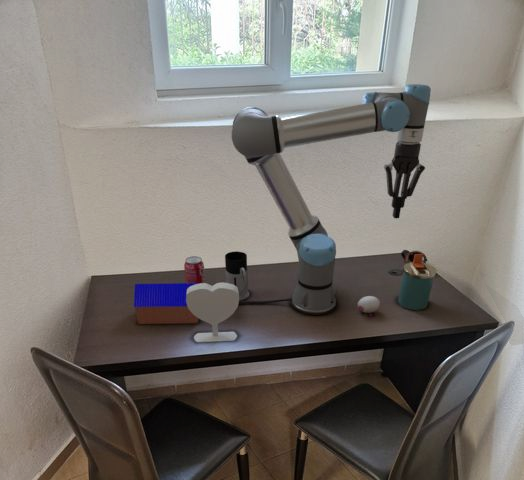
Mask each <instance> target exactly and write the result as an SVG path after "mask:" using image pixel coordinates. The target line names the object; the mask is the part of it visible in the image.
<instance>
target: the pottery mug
mask: <svg viewBox="0 0 524 480" xmlns="http://www.w3.org/2000/svg"><path fill="white" fill-rule="evenodd" d="M400 254H401V257H402V259H403V261H404V264H407V263H410V262H413V260H414V255H415V254H423V259H422V261H423V262H424V263H426V264H427V262H428V258H427V256H426V254H425V253H423V252H422V251H420V250H412V251H409V250H408V249H402V251H401V253H400Z"/></svg>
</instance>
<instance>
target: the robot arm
mask: <svg viewBox="0 0 524 480" xmlns="http://www.w3.org/2000/svg"><path fill="white" fill-rule="evenodd" d="M431 90H432V89H431V87H430V86H429V85H427V84H419V83H413V84H409V83H408V84H406V85H405V87H404V90H403V91H401V92H380V91H379V92H377V91H373V92H366V93H364V95H363V96H362V99H361V104H356V105H349V106H345V107H339V108H333V109H328V110H321V111H316V112H311V113H305V114H301V115H294V116H288V117H284V118H283V117H280V116H278V115H271V116H269V115H268V113H267V112H265V111H264V109H261V108H259V107H256V106H248V107H245V108H243V109H242V110H240V111H239V112H238V113H236V115H235V117H234V118H233V121H232V129H231V141H232V142H231V143H232V145H233V146H234V148H235V150H236V151H237V152H238V153H239V154H240V155H242V156H244V158H245V160H246V162H247V163H248V164H249V165H252V166H255V168H256V169H257V172H258V174H259V176H260V177H261V179H262V181H263V182H264V184H265V186H266V188H267V190H268V191H269V193H270V195H271V197H272V199H273V201H274V202H275V204H276V207H277V208H278V210H279V211H280V213H281V215H282V217H283V219H284V220H285V222H286V224H287V226H288V231H287V236H288V237H289V239H290V241H291V242H292V245H293V246H294V248H295V251H296V253H297V259H298V275H297V284H296V287H295V289H294V291H293V294H292V295H291V298H282V299H281V298H280V299H273V300H272V299H270V300H239V303H238V305H239V304H241V305H242V304H272V303H280V302H281V303H282V302H291V306H292V307H293V308H294V309H295V310H296V311H297V312H299V313H301V314H304V315H309V316H310V315H311V316H321V315H326V314H329V313H332V311H334V310H335V308H336V304H337V297H336V295H338V290H336V293H335V291H334V287H333V282H334V272H335V271H334V270H335V262H336V261H335V260H336V256H337V244H336V242H335V240H334V239H333V238H332V237H331V236H329V235H328V232H327V230H326V229H325V228H324V226H323V224H322V222H321V221H320V218H319V217H318V216H317V215H313V214H312V213H311V211H310V209H309V208H308V205H307V203H306V201H305V200H304V197H303V195H302V194H301V192H300V190H299V188H298V186H297V184H296V181H295V180H294V178H293V176H292V174H291V172H290V170H289V168H288V166H287V164H286V162H285V160H284V158H283V156H282V155H281V153H283V152H284V150H285V149H286V148H292V147H299V146H303V145H310V144H315V143H321V142H327V141H332V140H333V141H334V140H337V139H343V138H350V137H355V136H360V135H361V136H362V135H366V134H371V133H377V132H385V131H386V132H389V133H397V134H396V142H395V146H394V154H393V158H392V159H391V162H389V163H388V164H384V165H383V168H384V171H385V175H386V188H387V194H388V196H389V197H391V198H392V200H391V208H392V209H393V210H392V217H393V219H400V216H401V210H402V209H403V208H405V203H406V200H407V198H408V197H409V198H410V197H412V196H413V193H414V191H415V189H416V187H417V184H418V181H419V180H420V177H421V175H422V174H423V172H424V171H425V169H426V166H424V165H423V164H422V163H420V159H419V156H420V152H421V146H422V144H421V142H422V141H423V136H424V131H425V124H426V120H427V116H428V109H429V105H430V100H431ZM393 169H394V170H395V179H394V184H393V172H392V171H393ZM413 171H414V173H413V175H412V172H413ZM411 175H412V177H411ZM410 179H411V180H410ZM401 183H402V184H401ZM400 189H401V191H400ZM399 195H400V196H399Z"/></svg>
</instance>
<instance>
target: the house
mask: <svg viewBox="0 0 524 480" xmlns="http://www.w3.org/2000/svg"><path fill="white" fill-rule="evenodd" d="M195 284H198V283H186V282H185V283H184V282H179V283H135V284H134V296H133V297H134V298H133V299H134V300H133V302H134V303H133V307H134V308H135V313H136V318H137V323H138V325H161V324H163V325H164V324H165V325H167V324H168V325H169V324H172V325H173V324H199V320H200V319H199V318H198V317H196V316H194V315H193V314H192V312H191V311H190V310H189V309H188V306H187V303H186V294H187V289H188V288H189V287H190V286H193V285H195Z"/></svg>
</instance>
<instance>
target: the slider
mask: <svg viewBox="0 0 524 480" xmlns="http://www.w3.org/2000/svg"><path fill="white" fill-rule="evenodd" d="M422 260H424V258H423V254H415V255H414V260H413V265H414V266H415V267H416V268H425V267H424V265H423V264H422Z"/></svg>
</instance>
